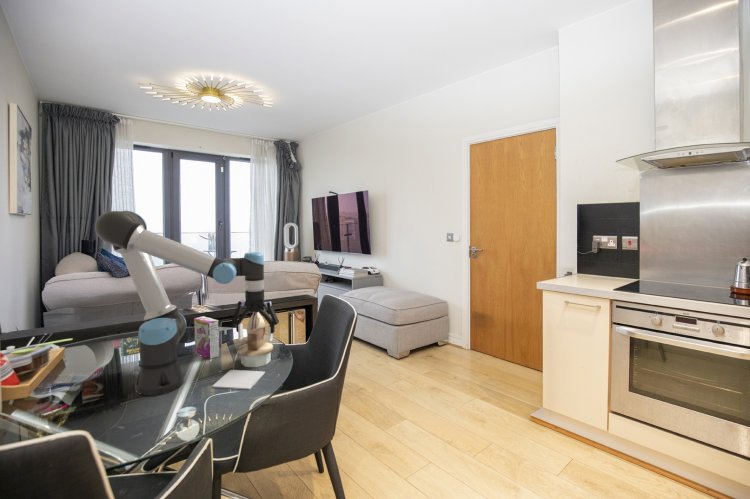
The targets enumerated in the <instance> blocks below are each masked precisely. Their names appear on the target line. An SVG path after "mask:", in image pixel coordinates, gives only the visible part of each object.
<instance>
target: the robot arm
mask: <svg viewBox="0 0 750 499" xmlns="http://www.w3.org/2000/svg"><path fill="white" fill-rule="evenodd" d="M94 231H95V233H96V235H97V237H98V238H99V239H100V240H101V241H102V242H105V243H106V244H109V245H111V246H112V248H113V251H114V252H115V253H118V254H120V255H121V256H122V259H123V261H124V264H125V265H126V266H125V267H126V268H127V271H128V273H129V275H130V278H131V280H132V282H133V285H134V287H135V289H136V291H137V294H138V296H139V299H140V301H141V303H142V306H143V308H144V311H145V316H144V317H143V320H144V323H142V324H141V325H140V326H139V328H138V334H137V336H138V337H137V338H138V348H139V349H138V351H139V366H140V367H139V371H138V375H137V378H136V381H135V386H134V387H135V392H136V391H137V392H138V393H141V394H145V395H144V396H157V395H158V396H159V395H163V394H166V393H169V392H172V391H174V390H176V389H179V388H181V386H182V385H184V383H185V376H184V373H183V371H182V367H181V366H180V363H179V360H178V359H179V356H178V352H179V351H178V344H179V342H180V341H181V339H182V338H183V337H184V335H185V333H186V331H187V330H186V329H187V320H186V318H185V316H184V315H182V313H180V312H179V309H178V307H177V305H175V304H172V303H171V301H170V299H169V297H168V295H167V292H166V290H165V287H164V284H163V282H162V280H161V278H160V274H159V272H158V269H157V267H156V265H155V263H154V261H153V258H152V257H154V258H158V259H160V260H163V261H165V262H167V263H170V264H173V265H176V266H179V267H182V268H184V269H186V270H187V269H188V270H190V271H192V272H195V273H198V274H200V275H203V276H206V277H209V278H210V279H213V280H214V281H215V282H216V283H219V284H221V285H226V284H229V283H231V282H232V281H234V280H235V278H236V277H244V281H245V282H244V289H245V291H244V292H245V294H244V295H245V298H244V299H245V300H239V301H238V302H237V306H236V307H237V308H236V310H235V312H234V314H233V317H232V319H231V323H232V324H235V328H236V329H235V330H236V332H237V334H238V335H237V336H238V339H237V340H238V341H241V340H243V339H244V324H243V323H242V322H243V320H244V319H245V318H246V317H247V315H248V314H249V313H254V312H259V313H260V315H261V316H262V317H263V319H265V321H266V322H267V323H268V327H267V330H268V331H267V335H268V339H267V340H268V343H271V342H272V341H273V338H274V337H273V334H275V329H276V328H275V327H276V326H277V324H278V325H279V323H280V320H279V318H278V315H277V314H276V311H275V309H274V307H273V302H272V301H271V300H270V301H265V290H264V289H265V278H264V277H265V261H264V254H263V253H261V252H253V251H252V252H245V253H244V256H243V257H220V258H218V257H216V256H214V255H211V254H208V253H207V252H206V253H205V252H203V251H201V250H198V249H196V248H193V247H190V246H188V245H185V244H183V243H181V242H178V241H175V240H172V239H170V238H168V237H166V236H162V235H160V234H157V233H155V232H152V231H150V230H148V225H147V222H146V221H145V219H144V218H143V217H142V216H141V215H140V214H139V213H136V212H134V211H130V210H121V211H120V210H110V211H106V212H103V213H102V214H101V215H100V216H99V217H97V219H96V221H95V223H94ZM244 306H245V307H246V309H245V310H244V311H243V313H242V314H241V311H242V310H243V307H244ZM265 307H266V308H267V310H268V312H267V310H266V308H265ZM240 314H241V315H240ZM138 393H137V394H138Z"/></svg>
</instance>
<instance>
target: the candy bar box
mask: <svg viewBox="0 0 750 499" xmlns="http://www.w3.org/2000/svg"><path fill="white" fill-rule="evenodd" d="M193 324H194V328H193V329H194V344H195V345H194V348H195V349H194V350H195V352H194V354H195V353H197V354H199V355H198V356H200V355H201V356H200V357H202V358H205V357H206V358H205V359H208V360H213V359H216V358H218V357H220V331H219V330H220V328H219V327H220V326H219V325H220V324H219V320H218V319H215V318H211V317H207V316H198V317H194V318H193ZM197 354H196V355H197ZM215 357H216V358H215ZM212 358H213V359H212Z"/></svg>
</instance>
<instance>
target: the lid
mask: <svg viewBox="0 0 750 499" xmlns="http://www.w3.org/2000/svg"><path fill="white" fill-rule="evenodd" d="M246 334H247V333H246ZM264 337H265V334H264V335H263V329H253V330H252V331H250V332H249V333H248V334H247V337H246V340H247V341H246V342H247V343H244V344H241V345H240V346H239V347H238V348H237V353H238V355H240V356H241V355H242V356H247V357H255V356H261V355H265V354H268V353H270V352H271V353H272V351H273V350H274V345H273V344H272V343H271V342H267V341H264V340H265V339H264Z"/></svg>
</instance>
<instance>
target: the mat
mask: <svg viewBox="0 0 750 499" xmlns="http://www.w3.org/2000/svg"><path fill="white" fill-rule="evenodd" d="M265 373H266V371H265V370H264V371H261V370H258V371H257V370H242V369H241V370H240V369H230V370H229V371H227V373H225V374H224V375H223V376H222V377H221V378H219V379H218V380H217V381H216V382H215V383H214V384H213V385H211V387H212V388H215V389H231V390H232V389H235V390H251V389H252V388H253V387H254V386H255V384H256V383H257V382H258V381H259V380H260V379H261V378H262V377H263V376H264V374H265Z"/></svg>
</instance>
